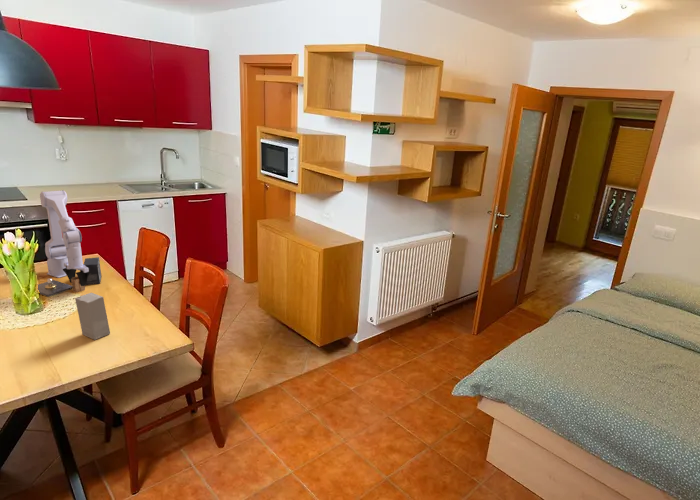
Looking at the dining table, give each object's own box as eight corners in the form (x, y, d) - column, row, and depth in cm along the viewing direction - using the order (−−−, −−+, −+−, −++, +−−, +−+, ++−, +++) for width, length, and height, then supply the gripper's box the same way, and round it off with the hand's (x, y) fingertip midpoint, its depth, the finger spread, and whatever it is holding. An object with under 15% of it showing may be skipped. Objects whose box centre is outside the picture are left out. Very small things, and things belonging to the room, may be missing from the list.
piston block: (27, 289, 203) (25, 279, 202) (53, 281, 214) (52, 272, 212) (48, 296, 198) (46, 286, 196) (74, 288, 208) (72, 278, 207)
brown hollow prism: (70, 290, 206) (69, 278, 204) (80, 287, 210) (79, 275, 208) (77, 292, 204) (75, 280, 202) (87, 289, 208) (85, 277, 206)
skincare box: (110, 334, 170) (106, 296, 165) (92, 341, 164) (87, 302, 159) (97, 328, 174) (93, 290, 169) (79, 335, 168) (74, 296, 163)
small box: (87, 277, 221) (84, 257, 218) (101, 276, 224) (99, 256, 221) (85, 285, 212) (82, 264, 209) (100, 283, 215) (98, 263, 212)
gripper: (55, 255, 201) (59, 283, 205) (76, 261, 195) (80, 289, 199) (70, 251, 207) (74, 278, 211) (91, 257, 202) (94, 284, 206)
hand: (78, 283), depth 206 cm, fingers open, 7 cm apart
